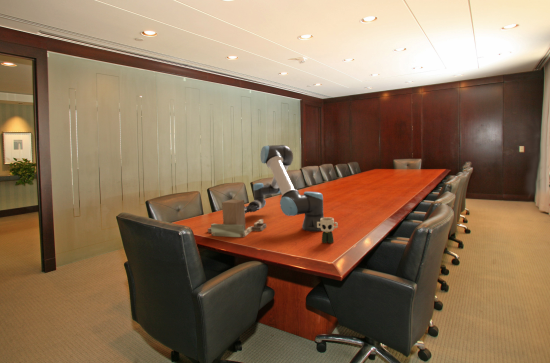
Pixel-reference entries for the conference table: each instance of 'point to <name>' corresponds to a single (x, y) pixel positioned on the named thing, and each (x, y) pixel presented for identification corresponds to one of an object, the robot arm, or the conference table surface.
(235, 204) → the wooden block
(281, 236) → the conference table surface
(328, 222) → the character mug
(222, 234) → the tray
